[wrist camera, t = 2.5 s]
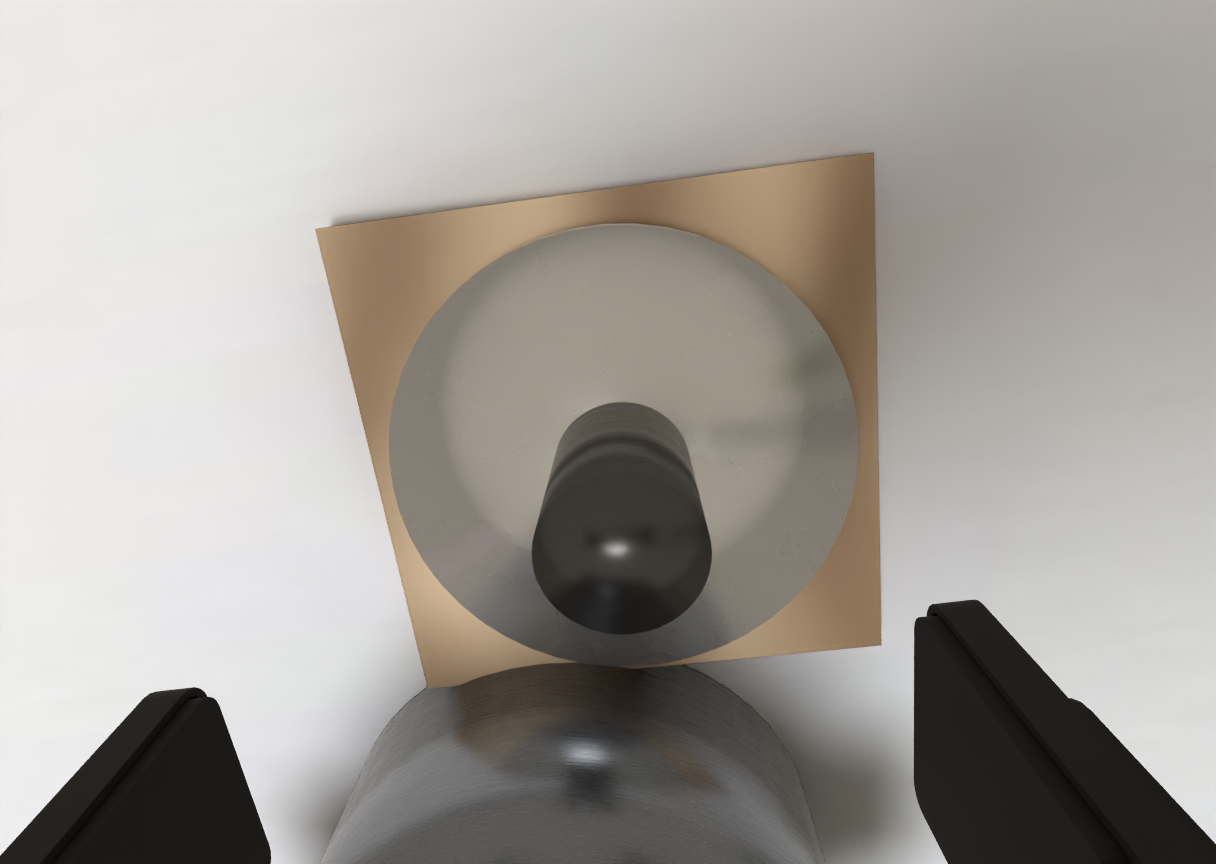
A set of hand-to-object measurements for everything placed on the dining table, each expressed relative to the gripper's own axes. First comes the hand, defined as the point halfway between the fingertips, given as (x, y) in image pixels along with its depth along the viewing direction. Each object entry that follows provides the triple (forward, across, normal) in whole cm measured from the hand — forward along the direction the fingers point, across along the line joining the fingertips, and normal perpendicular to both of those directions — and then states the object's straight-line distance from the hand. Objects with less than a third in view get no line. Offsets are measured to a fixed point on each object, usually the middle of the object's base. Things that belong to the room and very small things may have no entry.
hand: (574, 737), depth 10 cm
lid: (+11, -1, 0) cm, 11 cm away
